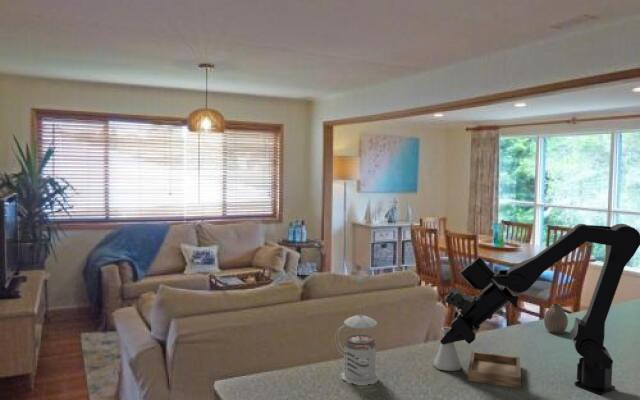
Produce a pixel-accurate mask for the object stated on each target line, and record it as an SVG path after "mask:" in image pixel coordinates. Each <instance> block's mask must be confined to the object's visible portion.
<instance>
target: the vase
mask: <svg viewBox="0 0 640 400" xmlns="http://www.w3.org/2000/svg"><path fill="white" fill-rule="evenodd" d="M543 323H544V324H543V325H544V327H545V328H546V330H547V331H548V332H549V333H551V334H555V335H556V334H557V335H558V334H563V333H564V332H565V331H566V330H567V328H568V324H569V317H568V315H567V313H566V312H565V310H564V309H563V308H562V305H561V304H559V303H552V304H551V306H550V307H549V308H548V309H547V310H546V311H545V313H544V317H543Z"/></svg>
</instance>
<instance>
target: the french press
mask: <svg viewBox="0 0 640 400" xmlns="http://www.w3.org/2000/svg"><path fill="white" fill-rule="evenodd" d="M356 282H357V283H360V284H362V283H365V282H366V280H365V278H364V277H362V276H359V277H358V278H357V280H356ZM359 293H360V295H359V297H360V301H359V303H360V305H359V307H360V309H359V311H360V312H359V315H353V316H351V317H348V318H346V319H345V320H344V321H343V323H344V324H343V325H342V326H340V327H339V328H338V329H336V332H335V334H334V343H335V346H336V349H337V351H338V352H339V353H340V354H342V355H343V358H344V359H343V366H344V367H343V372H342V373H340V375H342V378H343V379H345V380H346V381H348V382H351V383H356V384H361V385H360V386H369V385H368V384H371V385H374V384H377V383H378V382H379V381H380V379H379V378H380V376H378V375H379V374H378V373H377V372H376V370H377V369H376V366H377V365H376V363H377V361H376V357H377V355H376V354H377V353H376V352H377V346H376V342H375V340H376V339H375V337H374V336H373V335H369V334H363V333H362V330H369V329H374V328H375V327H377V324H378V322H377V321H376V320H375V319H374V318H371V317H370V316H367V315H363V314H362V292H359ZM346 328H347V329H346ZM349 328H350V329H357V330H359V333H354V334H353V333H352V334H350V335H349V334H348V335H347V336H346V337H345V340H346V342H347V343H346V342H345V343H344V348H343V347H342V345H341V341H340V333H341V331H342V329H344V332H345V333H346V332H347V331H348V330H349ZM337 334H338V335H337ZM337 341H338V344H339V347H340V348H341V350H342V351H343V352H344V353H343V352H341V350H340V349H339V348H338V345H337ZM356 346H357V347H356ZM367 346H368V347H367ZM363 349H364V350H363ZM364 360H366V361H364ZM378 380H379V381H378ZM377 381H378V382H377ZM362 384H364V385H362Z"/></svg>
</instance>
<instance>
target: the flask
mask: <svg viewBox="0 0 640 400" xmlns="http://www.w3.org/2000/svg"><path fill="white" fill-rule="evenodd" d="M449 330H450V326H449V327H448V326H444V327H442V328H441V332H442V336H443V337H444V336H445V334H446V333H447V332H448V331H449ZM442 336H441V339H442V338H443V337H442ZM432 365H433V366H434V367H435V368H436V369H437V370H440V371H447V372H451V371H452V372H454V371H460V370H461V368H462V364H461V361H460V358H459V355H458V352H457V349H456V346H455V342H452V343H448V344H444V345H443V344H442V343H441V342H440V346H439V349H438V350H437V354H436V356H435V359H434V361H433V364H432Z"/></svg>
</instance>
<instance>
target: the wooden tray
mask: <svg viewBox="0 0 640 400" xmlns="http://www.w3.org/2000/svg"><path fill="white" fill-rule="evenodd" d="M520 358H521V357H519V356H515V355H514V356H512V355H506V354H505V355H504V354H496V353H490V352H481V351H473V350H472V351H471V354H470V359H469V364H468V368H467V381H468V382H469V381H471V382H477V383H483V384H489V385H498V386H502V387H503V386H505V387H510V388H511V387H512V388H519V389H521V387H522V386H521V383H522V375H521V374H522V373H521V372H522V371H521V359H520Z"/></svg>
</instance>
